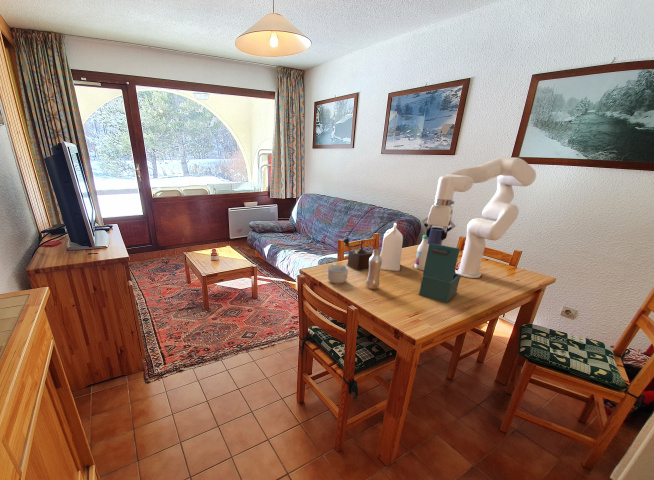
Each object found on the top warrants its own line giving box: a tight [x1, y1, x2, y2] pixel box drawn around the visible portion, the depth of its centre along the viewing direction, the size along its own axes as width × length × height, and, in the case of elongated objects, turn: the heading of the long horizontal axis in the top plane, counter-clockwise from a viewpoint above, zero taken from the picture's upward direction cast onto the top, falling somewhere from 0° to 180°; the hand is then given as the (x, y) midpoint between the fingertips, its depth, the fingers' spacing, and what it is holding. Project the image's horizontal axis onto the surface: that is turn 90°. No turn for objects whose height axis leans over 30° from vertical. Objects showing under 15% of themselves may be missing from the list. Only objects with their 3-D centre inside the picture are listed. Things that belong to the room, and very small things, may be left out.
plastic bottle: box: [365, 248, 382, 290], centre depth 154 cm, size 6×7×20 cm
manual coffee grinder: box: [342, 237, 373, 271], centre depth 183 cm, size 16×11×18 cm
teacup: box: [326, 263, 349, 284], centre depth 165 cm, size 14×11×8 cm
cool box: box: [419, 272, 462, 304], centre depth 149 cm, size 15×13×10 cm
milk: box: [380, 222, 404, 272], centre depth 182 cm, size 12×12×26 cm
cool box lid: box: [422, 243, 461, 282], centre depth 138 cm, size 16×13×5 cm
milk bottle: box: [413, 234, 429, 271], centre depth 181 cm, size 8×8×20 cm
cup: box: [427, 226, 444, 245], centre depth 157 cm, size 7×7×8 cm
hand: (435, 238), depth 157 cm, fingers closed on cup, 6 cm apart
